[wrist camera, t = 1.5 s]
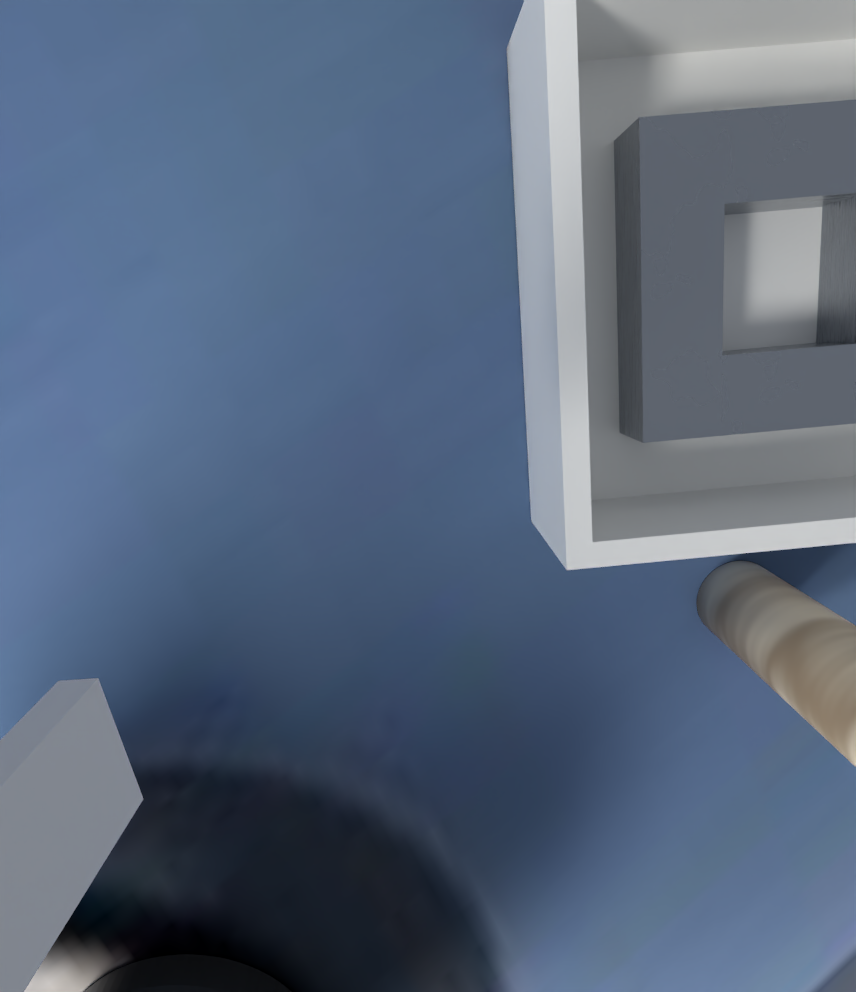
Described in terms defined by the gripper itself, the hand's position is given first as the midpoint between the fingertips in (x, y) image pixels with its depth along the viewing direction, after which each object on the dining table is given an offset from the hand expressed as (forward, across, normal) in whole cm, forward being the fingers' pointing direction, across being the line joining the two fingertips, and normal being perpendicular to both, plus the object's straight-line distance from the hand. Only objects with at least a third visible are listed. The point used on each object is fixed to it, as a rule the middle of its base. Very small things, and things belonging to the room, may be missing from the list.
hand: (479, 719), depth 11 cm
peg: (+21, -11, +11) cm, 26 cm away
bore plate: (+23, -12, -4) cm, 26 cm away
